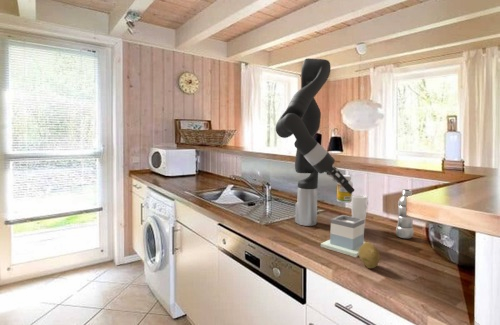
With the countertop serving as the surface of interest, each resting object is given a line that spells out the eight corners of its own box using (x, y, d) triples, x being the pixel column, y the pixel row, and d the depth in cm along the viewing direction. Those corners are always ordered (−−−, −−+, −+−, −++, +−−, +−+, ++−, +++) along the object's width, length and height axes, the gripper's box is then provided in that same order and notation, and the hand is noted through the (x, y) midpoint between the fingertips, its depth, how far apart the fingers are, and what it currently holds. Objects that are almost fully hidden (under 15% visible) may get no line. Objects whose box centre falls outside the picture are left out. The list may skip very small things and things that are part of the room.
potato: (360, 260, 104) (361, 237, 104) (384, 266, 99) (385, 242, 99) (352, 267, 99) (353, 242, 98) (377, 274, 94) (378, 248, 93)
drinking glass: (361, 232, 134) (362, 198, 133) (347, 228, 140) (348, 195, 138) (368, 228, 139) (370, 196, 138) (355, 225, 144) (356, 193, 143)
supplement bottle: (340, 199, 119) (341, 174, 118) (354, 201, 115) (355, 175, 114) (334, 201, 115) (335, 175, 114) (348, 203, 111) (349, 177, 110)
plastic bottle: (391, 236, 129) (394, 189, 127) (403, 234, 132) (406, 188, 130) (405, 241, 123) (407, 192, 121) (416, 239, 126) (419, 191, 124)
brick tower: (320, 246, 116) (321, 219, 115) (338, 237, 126) (339, 212, 125) (356, 257, 107) (357, 227, 106) (372, 246, 117) (373, 219, 116)
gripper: (331, 152, 106) (364, 187, 107) (321, 149, 120) (351, 180, 121) (315, 167, 106) (348, 201, 108) (307, 162, 121) (337, 193, 122)
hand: (349, 190), depth 114 cm, fingers closed on supplement bottle, 5 cm apart
